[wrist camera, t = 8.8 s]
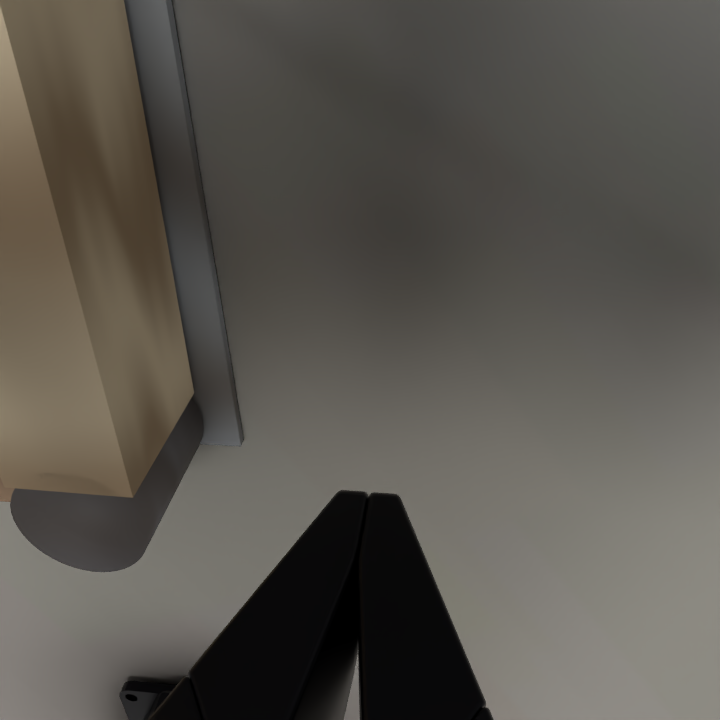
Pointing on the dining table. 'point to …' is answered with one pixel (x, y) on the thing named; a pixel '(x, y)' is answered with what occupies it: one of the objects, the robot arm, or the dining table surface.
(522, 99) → the dining table surface
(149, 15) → the bench scraper
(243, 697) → the robot arm
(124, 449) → the oak leg
